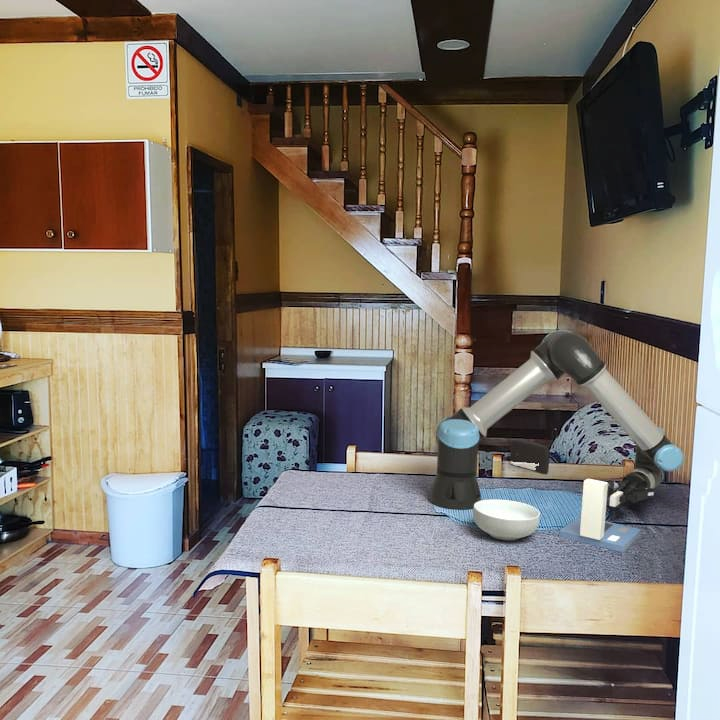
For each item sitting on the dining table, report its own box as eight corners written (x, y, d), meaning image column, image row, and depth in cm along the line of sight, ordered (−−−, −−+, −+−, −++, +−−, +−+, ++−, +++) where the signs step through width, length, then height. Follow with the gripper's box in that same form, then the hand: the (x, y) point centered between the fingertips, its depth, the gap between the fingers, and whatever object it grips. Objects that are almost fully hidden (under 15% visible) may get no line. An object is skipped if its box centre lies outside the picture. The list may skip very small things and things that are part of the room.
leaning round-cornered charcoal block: (553, 473, 238) (555, 446, 237) (546, 475, 235) (547, 448, 234) (516, 463, 250) (517, 438, 249) (508, 465, 247) (509, 439, 246)
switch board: (580, 520, 188) (580, 515, 188) (640, 535, 178) (641, 529, 178) (558, 536, 175) (559, 530, 175) (622, 552, 166) (623, 546, 165)
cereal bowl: (548, 547, 167) (550, 519, 166) (481, 547, 165) (483, 519, 165) (525, 523, 184) (527, 498, 183) (465, 523, 182) (466, 497, 182)
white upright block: (583, 532, 174) (587, 478, 172) (603, 536, 171) (607, 482, 169) (579, 535, 171) (583, 480, 170) (599, 540, 168) (604, 484, 167)
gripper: (660, 500, 198) (636, 520, 179) (614, 491, 206) (587, 509, 187) (662, 475, 197) (639, 492, 178) (616, 467, 205) (589, 482, 186)
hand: (612, 501), depth 183 cm, fingers closed
